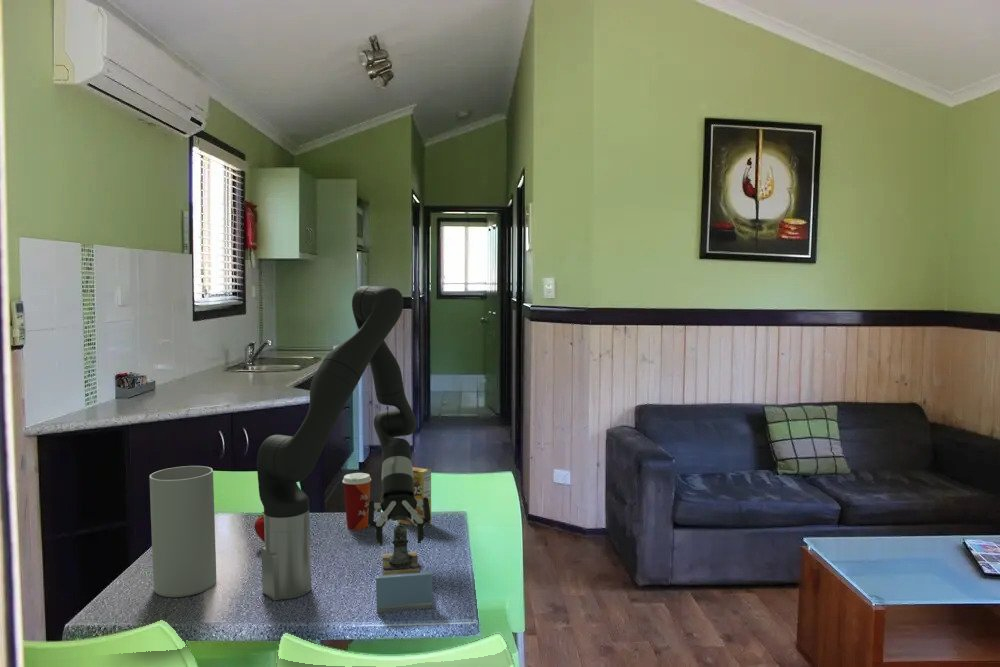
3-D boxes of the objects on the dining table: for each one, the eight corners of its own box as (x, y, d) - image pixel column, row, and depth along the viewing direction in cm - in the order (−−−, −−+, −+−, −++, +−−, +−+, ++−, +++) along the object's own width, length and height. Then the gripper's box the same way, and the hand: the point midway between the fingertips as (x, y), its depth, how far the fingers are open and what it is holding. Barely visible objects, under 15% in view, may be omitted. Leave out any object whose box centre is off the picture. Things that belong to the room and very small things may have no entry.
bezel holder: (376, 592, 153) (375, 560, 153) (428, 588, 155) (428, 556, 155) (376, 613, 144) (376, 578, 143) (432, 608, 145) (431, 574, 145)
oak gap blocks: (382, 564, 169) (382, 554, 169) (417, 562, 170) (416, 551, 170) (383, 586, 156) (383, 575, 156) (420, 583, 158) (420, 572, 157)
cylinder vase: (141, 597, 152) (136, 479, 151) (175, 574, 164) (171, 465, 163) (196, 600, 150) (192, 481, 149) (227, 576, 163) (223, 466, 161)
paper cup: (369, 531, 193) (368, 479, 192) (340, 531, 193) (339, 479, 192) (374, 521, 200) (373, 471, 200) (346, 522, 200) (345, 472, 200)
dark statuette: (382, 576, 162) (381, 523, 161) (398, 567, 167) (397, 516, 167) (404, 581, 159) (403, 527, 159) (419, 571, 165) (418, 519, 164)
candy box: (396, 523, 199) (395, 468, 198) (405, 519, 203) (404, 465, 202) (423, 528, 195) (422, 471, 194) (432, 523, 199) (431, 468, 198)
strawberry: (249, 548, 181) (247, 508, 180) (270, 539, 187) (269, 500, 187) (267, 551, 178) (266, 511, 177) (288, 542, 185) (287, 503, 184)
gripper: (367, 473, 170) (368, 537, 159) (428, 469, 172) (433, 533, 161) (367, 489, 175) (368, 553, 165) (426, 486, 178) (431, 548, 167)
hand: (400, 543), depth 163 cm, fingers open, 8 cm apart
